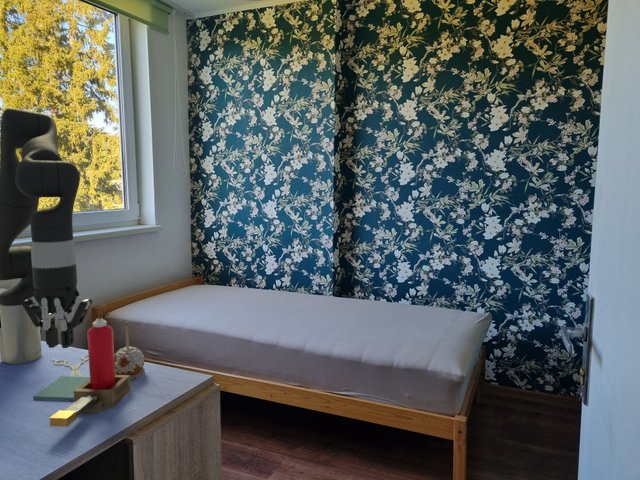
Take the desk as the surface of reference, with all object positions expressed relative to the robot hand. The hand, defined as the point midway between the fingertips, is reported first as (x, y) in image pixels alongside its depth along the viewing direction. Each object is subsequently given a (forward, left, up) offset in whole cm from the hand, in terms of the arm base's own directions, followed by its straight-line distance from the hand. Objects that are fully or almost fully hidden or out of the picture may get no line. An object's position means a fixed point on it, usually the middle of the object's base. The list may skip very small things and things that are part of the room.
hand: (60, 346), depth 90 cm
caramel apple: (0, +28, -19) cm, 34 cm away
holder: (0, +14, -19) cm, 24 cm away
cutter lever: (0, +4, -16) cm, 17 cm away
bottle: (0, +15, -19) cm, 24 cm away
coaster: (-11, +19, -19) cm, 29 cm away
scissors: (-17, +31, -20) cm, 41 cm away
